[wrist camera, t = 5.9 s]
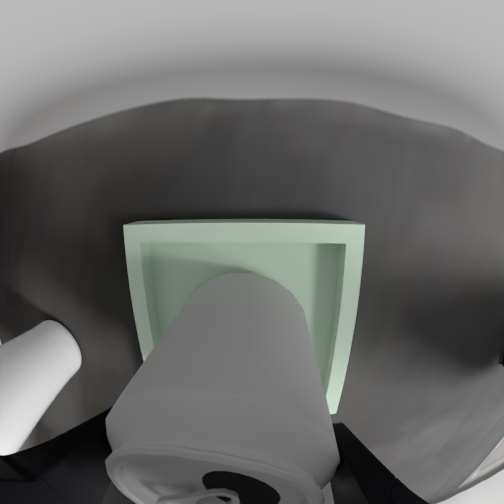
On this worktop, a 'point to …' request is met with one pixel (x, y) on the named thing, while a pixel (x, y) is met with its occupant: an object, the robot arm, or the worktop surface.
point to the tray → (258, 262)
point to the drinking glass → (33, 378)
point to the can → (226, 405)
